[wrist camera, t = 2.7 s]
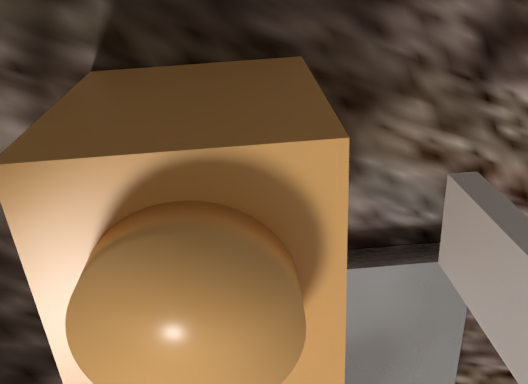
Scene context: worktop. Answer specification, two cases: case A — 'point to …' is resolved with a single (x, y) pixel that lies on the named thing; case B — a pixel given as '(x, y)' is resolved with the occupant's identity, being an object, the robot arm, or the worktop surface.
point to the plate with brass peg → (401, 317)
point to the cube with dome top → (187, 225)
